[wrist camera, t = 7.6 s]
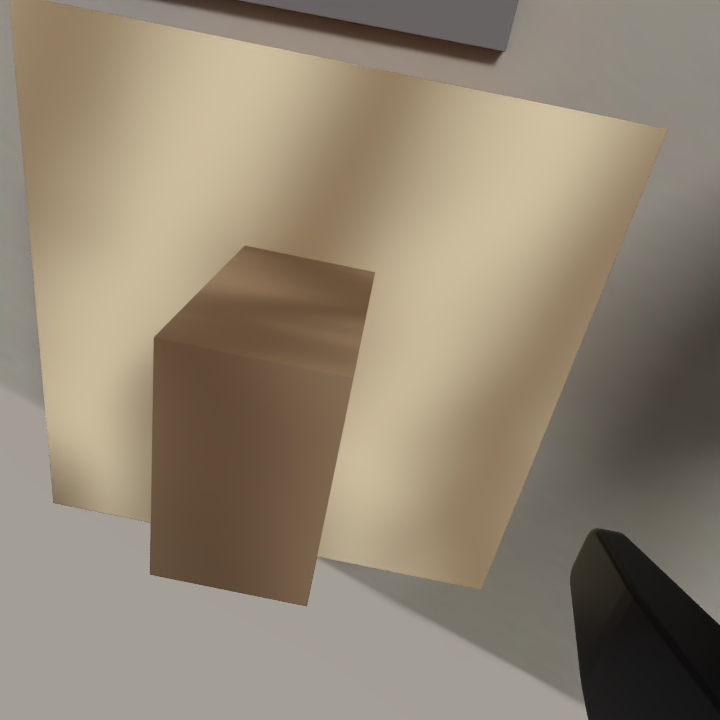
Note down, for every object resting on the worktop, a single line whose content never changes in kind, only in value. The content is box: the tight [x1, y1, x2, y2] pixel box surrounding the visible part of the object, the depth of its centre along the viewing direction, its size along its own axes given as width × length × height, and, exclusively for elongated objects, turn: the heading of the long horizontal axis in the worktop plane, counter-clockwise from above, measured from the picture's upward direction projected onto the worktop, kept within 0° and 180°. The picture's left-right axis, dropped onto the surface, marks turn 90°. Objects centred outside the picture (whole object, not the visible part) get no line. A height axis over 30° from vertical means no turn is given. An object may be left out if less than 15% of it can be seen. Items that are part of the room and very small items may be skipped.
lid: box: [9, 0, 667, 606], centre depth 12 cm, size 13×13×6 cm
